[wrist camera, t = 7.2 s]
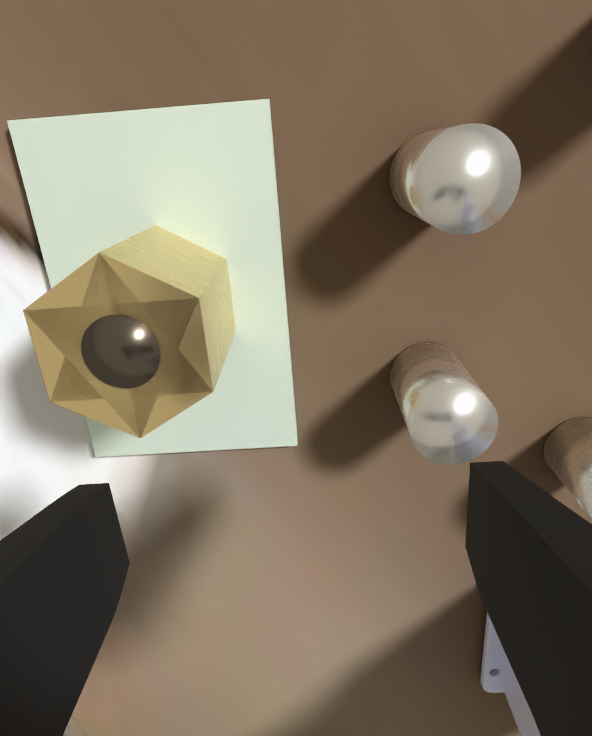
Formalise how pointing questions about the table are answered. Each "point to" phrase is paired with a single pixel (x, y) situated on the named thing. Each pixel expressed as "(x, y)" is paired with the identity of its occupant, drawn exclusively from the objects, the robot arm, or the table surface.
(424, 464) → the table surface
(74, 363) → the brass nut
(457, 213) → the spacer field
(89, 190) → the pad
